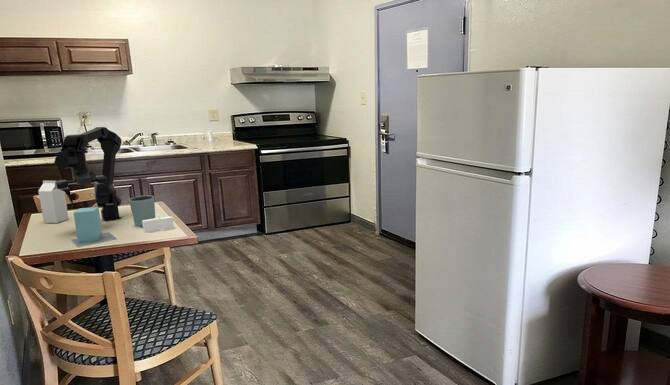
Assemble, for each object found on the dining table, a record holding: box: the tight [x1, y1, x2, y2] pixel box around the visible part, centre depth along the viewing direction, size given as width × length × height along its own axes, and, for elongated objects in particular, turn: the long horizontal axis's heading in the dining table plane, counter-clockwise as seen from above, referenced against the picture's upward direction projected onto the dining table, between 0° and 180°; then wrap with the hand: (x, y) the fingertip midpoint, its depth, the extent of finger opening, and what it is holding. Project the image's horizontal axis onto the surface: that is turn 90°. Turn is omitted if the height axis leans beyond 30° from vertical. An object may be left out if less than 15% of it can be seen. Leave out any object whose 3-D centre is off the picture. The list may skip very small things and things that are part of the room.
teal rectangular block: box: [72, 206, 103, 243], centre depth 181 cm, size 7×7×12 cm
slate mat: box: [70, 231, 118, 248], centre depth 182 cm, size 14×13×1 cm
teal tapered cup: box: [128, 194, 156, 228], centre depth 200 cm, size 10×10×12 cm
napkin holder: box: [142, 215, 175, 233], centre depth 192 cm, size 15×11×6 cm
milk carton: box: [37, 180, 70, 224], centre depth 212 cm, size 7×7×19 cm
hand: (84, 201), depth 195 cm, fingers open, 9 cm apart
